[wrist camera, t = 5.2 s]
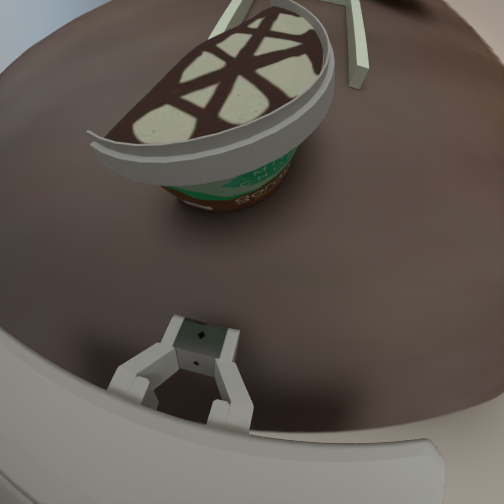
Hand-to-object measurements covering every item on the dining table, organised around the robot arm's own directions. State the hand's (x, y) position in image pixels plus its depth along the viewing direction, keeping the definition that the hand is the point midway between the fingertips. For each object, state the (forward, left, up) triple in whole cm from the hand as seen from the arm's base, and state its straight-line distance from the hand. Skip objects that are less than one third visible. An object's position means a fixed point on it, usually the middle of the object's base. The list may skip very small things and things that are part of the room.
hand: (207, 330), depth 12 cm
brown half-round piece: (0, +10, -5) cm, 11 cm away
